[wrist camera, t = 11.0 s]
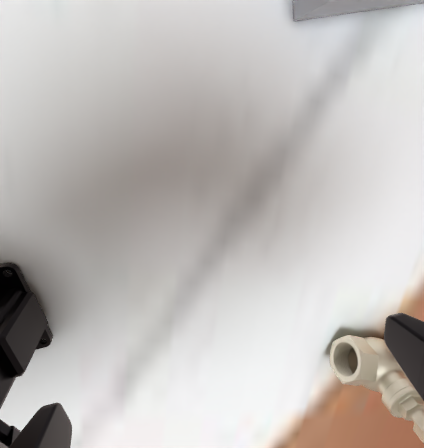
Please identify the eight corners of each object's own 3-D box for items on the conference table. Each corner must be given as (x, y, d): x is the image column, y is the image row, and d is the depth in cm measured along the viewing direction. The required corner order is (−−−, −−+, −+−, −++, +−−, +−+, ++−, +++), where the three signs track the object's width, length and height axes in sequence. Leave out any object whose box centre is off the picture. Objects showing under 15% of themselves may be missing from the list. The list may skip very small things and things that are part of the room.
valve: (348, 309, 25) (501, 473, 14) (406, 322, 27) (579, 475, 16) (313, 367, 27) (422, 550, 16) (369, 375, 29) (500, 543, 18)
